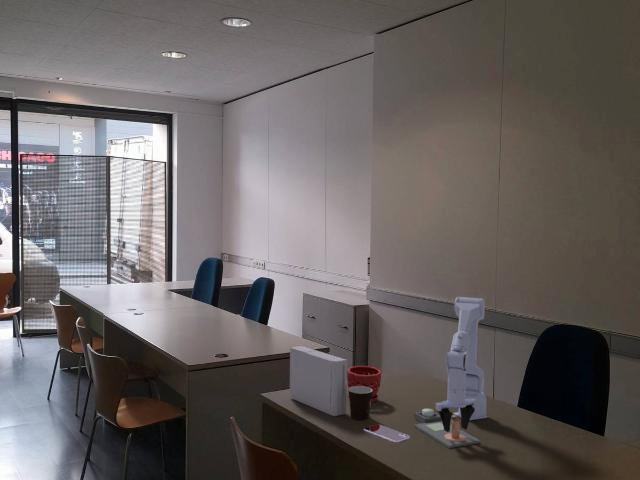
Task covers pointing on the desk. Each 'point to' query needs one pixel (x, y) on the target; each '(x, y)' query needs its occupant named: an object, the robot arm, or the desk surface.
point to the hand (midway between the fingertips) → (455, 429)
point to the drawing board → (446, 434)
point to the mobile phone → (386, 433)
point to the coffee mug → (360, 402)
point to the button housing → (422, 419)
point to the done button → (428, 413)
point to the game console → (318, 380)
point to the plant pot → (365, 379)
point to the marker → (455, 427)
